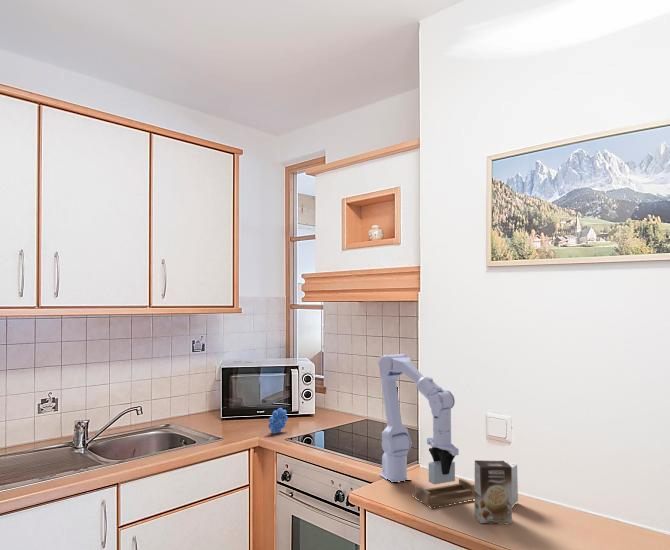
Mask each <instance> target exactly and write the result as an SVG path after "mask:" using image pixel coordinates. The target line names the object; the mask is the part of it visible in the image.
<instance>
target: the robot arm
mask: <svg viewBox="0 0 670 550" xmlns="http://www.w3.org/2000/svg"><path fill="white" fill-rule="evenodd" d="M378 368H379V376H380V384H381V390H382V397H383V398H382V399H383V405H384V412H385V420H386V421H385V422H386V425H387V426H386V427H385V428H384V430H383V431H382V432H381V448H382V450H383V452H384V453H383V454H382V456H381V473H380V474H379V476H380V477H382V478H383V479H385V480H387V479H390V481H391V482H398V481H404V480H407V479H408V477H409V476H408V469H407V468H408V467H407V466H408V465H407V462H408V461H407V459H408V458H407V456H408V454H409V450H410V449H411V448H412V444H413V443H412V438H411V437H410V433H409V429H408V428H407V427H405V426H404V425H403V421H402V415H401V408H400V402H399V394H398V387H397V380H398V379H399V377H400V376H401V375H405V376H406V377H407V378H409V379H410V380H411V381H413V383H414V384H416V385H417V386H416V389H417V390H418V391H419V393H420V394H421V395H423V396H424V398H426V399H427V400H428V404H429V407H430V408H431V409H430V410H431V411H430V412H431V415H432V437H427V438H426V444H427V445H428V446H430V447H428V451H429V453H430V455H431V458H432V460H433V461H432V462H435V461H441V467H442V474H443V475H446V474H449V472H450V467H451V464H452V461H454V459H455V457H456V456H459V450H460V449H459V448H458V447H456V446H455V445H454V444H453V443H452V408H454V406H455V401H456V400H455V396H454V395H453V394H452V392H451V391H450V390H445V389H443V388H442V387H441V386H439V385H438V384H437V383H436V382H435V381H434V379H433V378H432V377H430V376H424V375H423V373H421V372H420V370H418V369H417V367H416V366H415V365H414V364H413V363H412V360H411V358H410V357H409V356H408V354H406V353H399V354H383V355H382V356H381V358H380V359H379V361H378ZM390 481H389V482H390ZM391 482H390V483H391ZM404 482H405V481H404ZM398 483H399V482H398Z"/></svg>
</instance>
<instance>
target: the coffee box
mask: <svg viewBox="0 0 670 550" xmlns="http://www.w3.org/2000/svg"><path fill="white" fill-rule="evenodd" d="M508 463H509V462H506V463H505V461H504V460H477V459H476V460H474V486H475V501H474V507H473V508H474V513H473V514H475V515H474V517H475V516H476V517H477V518H476V517H475V518H476V520H477V521H478V520H479V521H480V522H479V521H478V522H479V523H480V524H481V523H512V524H513V513H512V512H513V508H512V467H511V466H510V465H509V464H508Z"/></svg>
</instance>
